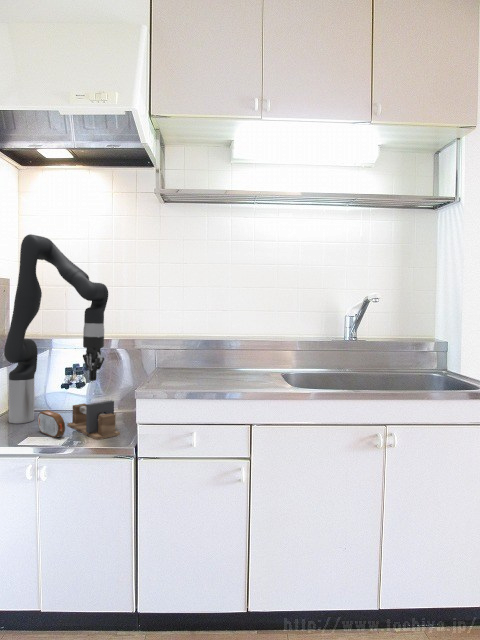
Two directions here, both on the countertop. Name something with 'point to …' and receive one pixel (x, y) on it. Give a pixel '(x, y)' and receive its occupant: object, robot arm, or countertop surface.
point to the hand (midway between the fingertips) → (92, 380)
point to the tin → (51, 423)
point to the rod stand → (104, 423)
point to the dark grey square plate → (93, 412)
